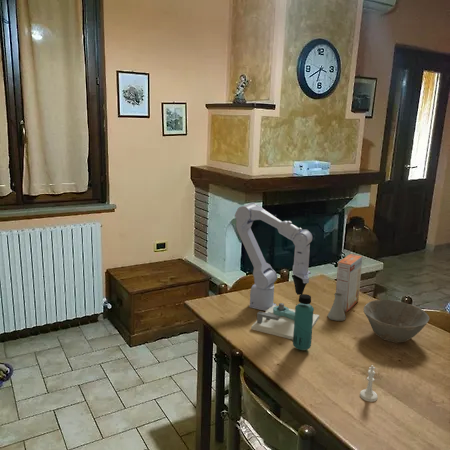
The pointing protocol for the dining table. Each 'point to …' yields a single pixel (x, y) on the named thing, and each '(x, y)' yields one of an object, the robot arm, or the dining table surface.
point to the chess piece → (369, 387)
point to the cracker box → (349, 280)
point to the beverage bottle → (303, 323)
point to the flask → (337, 309)
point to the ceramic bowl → (395, 319)
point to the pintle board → (277, 323)
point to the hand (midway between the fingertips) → (299, 293)
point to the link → (284, 312)
